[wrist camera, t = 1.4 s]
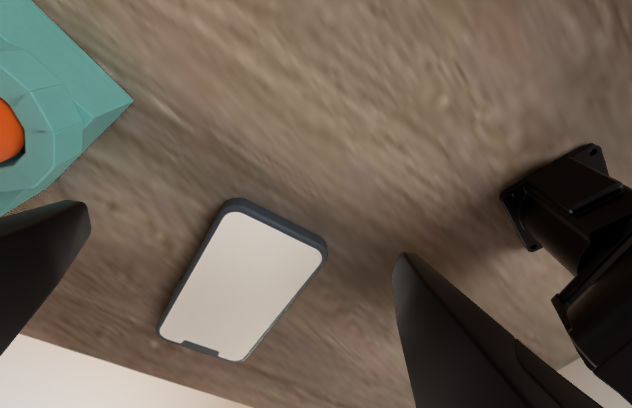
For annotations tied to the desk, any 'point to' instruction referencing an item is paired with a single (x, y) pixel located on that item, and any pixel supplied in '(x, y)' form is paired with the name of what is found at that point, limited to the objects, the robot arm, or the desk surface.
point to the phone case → (240, 281)
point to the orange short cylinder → (9, 132)
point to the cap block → (49, 100)
